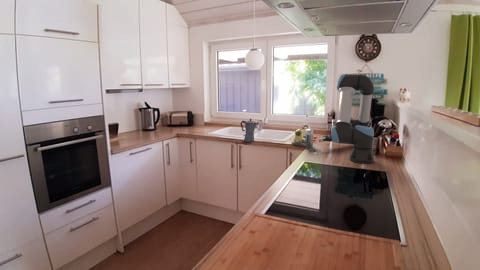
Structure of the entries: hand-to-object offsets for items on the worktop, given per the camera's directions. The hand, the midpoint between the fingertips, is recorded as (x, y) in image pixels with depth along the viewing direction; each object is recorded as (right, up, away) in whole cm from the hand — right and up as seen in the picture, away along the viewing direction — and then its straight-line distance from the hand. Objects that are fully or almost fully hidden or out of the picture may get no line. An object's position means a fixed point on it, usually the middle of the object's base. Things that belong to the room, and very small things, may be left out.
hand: (319, 140), depth 211 cm
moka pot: (-53, -2, +32) cm, 62 cm away
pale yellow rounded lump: (-11, -3, +23) cm, 26 cm away
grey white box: (-7, -7, +6) cm, 11 cm away
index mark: (-5, -10, -8) cm, 13 cm away
